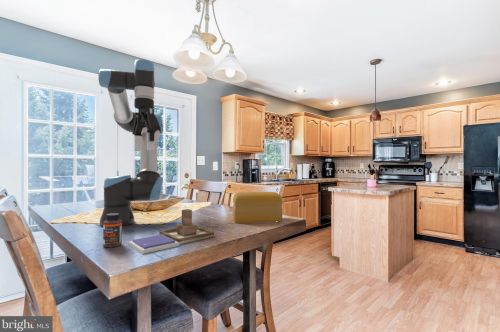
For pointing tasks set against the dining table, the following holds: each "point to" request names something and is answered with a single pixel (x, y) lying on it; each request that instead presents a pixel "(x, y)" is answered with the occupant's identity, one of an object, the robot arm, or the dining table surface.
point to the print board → (199, 235)
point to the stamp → (186, 224)
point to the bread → (257, 207)
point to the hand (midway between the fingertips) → (144, 150)
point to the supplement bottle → (112, 231)
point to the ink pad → (152, 243)
